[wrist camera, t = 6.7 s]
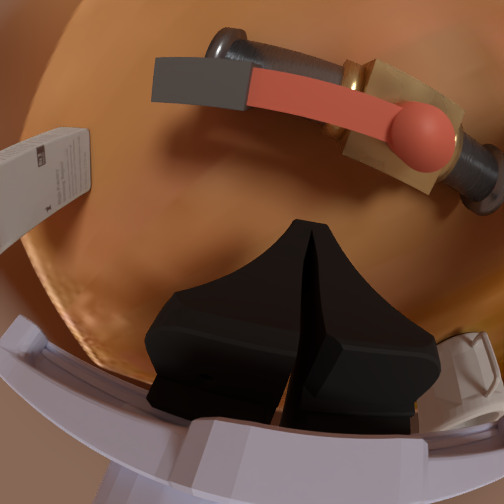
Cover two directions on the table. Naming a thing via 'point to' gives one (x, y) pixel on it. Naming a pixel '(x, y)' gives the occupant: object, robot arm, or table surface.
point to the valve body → (393, 90)
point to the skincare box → (41, 179)
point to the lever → (309, 104)
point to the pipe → (284, 60)
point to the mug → (463, 386)
